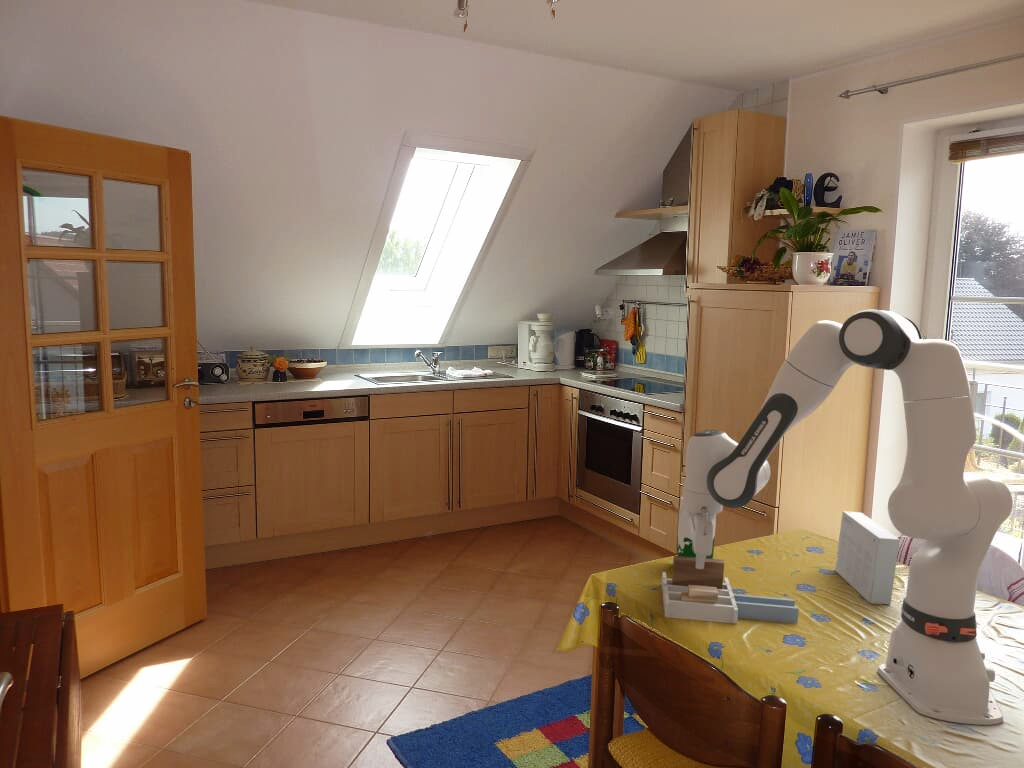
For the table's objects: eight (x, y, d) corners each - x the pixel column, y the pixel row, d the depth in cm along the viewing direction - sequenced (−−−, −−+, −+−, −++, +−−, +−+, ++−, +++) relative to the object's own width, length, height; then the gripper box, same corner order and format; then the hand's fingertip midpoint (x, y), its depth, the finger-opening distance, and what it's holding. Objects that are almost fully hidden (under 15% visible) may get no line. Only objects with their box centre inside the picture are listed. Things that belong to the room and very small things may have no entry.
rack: (736, 627, 165) (738, 610, 164) (664, 621, 167) (665, 603, 167) (726, 593, 183) (727, 577, 182) (661, 588, 185) (662, 571, 184)
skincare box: (893, 605, 179) (900, 539, 177) (869, 604, 179) (876, 538, 177) (855, 570, 200) (861, 510, 198) (834, 570, 200) (839, 510, 198)
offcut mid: (714, 608, 168) (715, 600, 167) (681, 605, 169) (681, 597, 168) (713, 602, 171) (713, 594, 170) (680, 599, 172) (681, 591, 171)
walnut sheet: (721, 601, 176) (724, 563, 175) (671, 596, 177) (674, 558, 176) (720, 597, 178) (723, 559, 177) (671, 593, 179) (673, 555, 178)
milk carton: (677, 576, 192) (683, 497, 189) (674, 563, 201) (678, 487, 198) (714, 578, 191) (719, 500, 189) (708, 565, 200) (714, 489, 197)
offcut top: (717, 600, 167) (718, 592, 167) (689, 598, 168) (689, 590, 168) (716, 595, 170) (716, 587, 170) (688, 592, 171) (688, 584, 171)
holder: (797, 627, 166) (799, 609, 165) (734, 621, 168) (736, 604, 167) (792, 615, 172) (793, 598, 171) (731, 610, 174) (732, 592, 173)
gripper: (721, 517, 164) (716, 579, 166) (712, 489, 184) (708, 545, 186) (691, 514, 165) (686, 576, 167) (685, 487, 185) (681, 543, 187)
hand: (697, 559), depth 177 cm, fingers open, 8 cm apart
